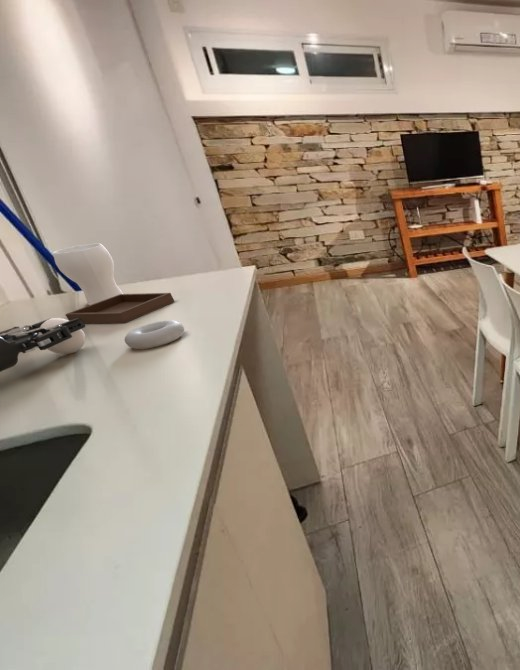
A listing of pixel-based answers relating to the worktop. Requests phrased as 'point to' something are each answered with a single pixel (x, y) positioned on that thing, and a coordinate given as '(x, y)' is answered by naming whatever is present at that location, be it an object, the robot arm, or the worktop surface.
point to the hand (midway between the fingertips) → (68, 322)
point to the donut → (154, 334)
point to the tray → (121, 308)
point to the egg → (67, 345)
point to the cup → (89, 270)
